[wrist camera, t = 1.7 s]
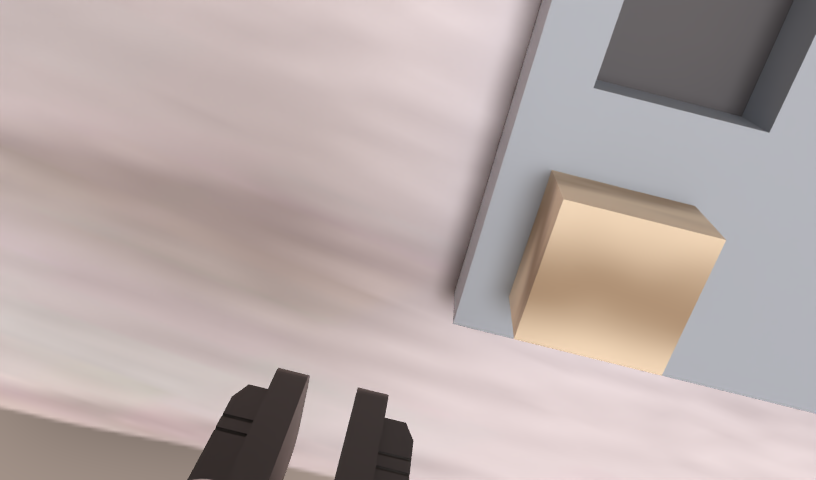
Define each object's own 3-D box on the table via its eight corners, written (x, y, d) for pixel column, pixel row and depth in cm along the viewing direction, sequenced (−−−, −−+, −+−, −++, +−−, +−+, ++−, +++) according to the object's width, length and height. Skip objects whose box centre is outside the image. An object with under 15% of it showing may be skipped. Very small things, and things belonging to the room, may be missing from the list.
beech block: (551, 169, 27) (563, 199, 23) (695, 206, 27) (726, 240, 23) (508, 296, 29) (514, 338, 26) (640, 329, 29) (661, 375, 26)
